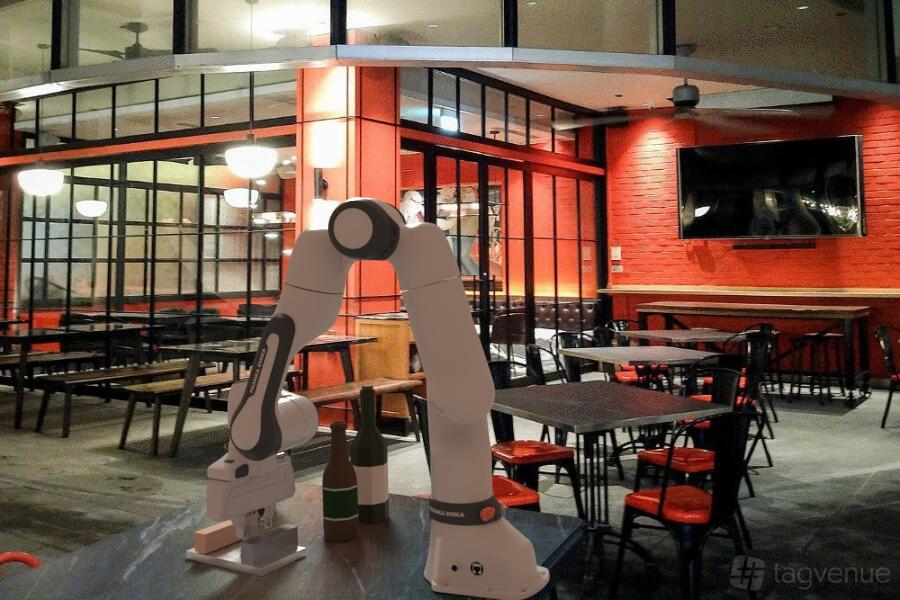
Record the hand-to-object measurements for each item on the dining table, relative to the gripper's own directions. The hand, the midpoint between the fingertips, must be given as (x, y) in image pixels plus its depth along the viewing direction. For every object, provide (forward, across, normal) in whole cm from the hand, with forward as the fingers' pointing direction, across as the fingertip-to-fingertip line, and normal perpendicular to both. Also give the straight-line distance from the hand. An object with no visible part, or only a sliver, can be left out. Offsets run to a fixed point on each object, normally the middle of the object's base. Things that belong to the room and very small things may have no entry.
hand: (254, 532), depth 145 cm
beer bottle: (+5, -18, +7) cm, 20 cm away
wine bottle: (+5, -31, +5) cm, 32 cm away
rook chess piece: (+4, +1, 0) cm, 4 cm away
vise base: (+5, 0, -2) cm, 6 cm away
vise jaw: (+4, 0, -8) cm, 9 cm away
